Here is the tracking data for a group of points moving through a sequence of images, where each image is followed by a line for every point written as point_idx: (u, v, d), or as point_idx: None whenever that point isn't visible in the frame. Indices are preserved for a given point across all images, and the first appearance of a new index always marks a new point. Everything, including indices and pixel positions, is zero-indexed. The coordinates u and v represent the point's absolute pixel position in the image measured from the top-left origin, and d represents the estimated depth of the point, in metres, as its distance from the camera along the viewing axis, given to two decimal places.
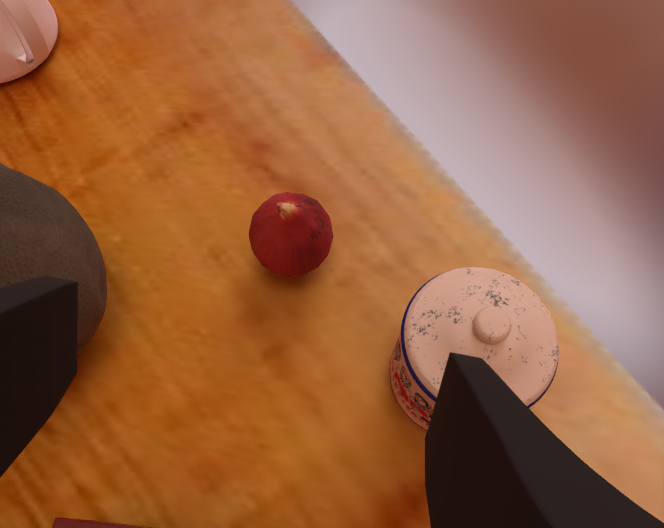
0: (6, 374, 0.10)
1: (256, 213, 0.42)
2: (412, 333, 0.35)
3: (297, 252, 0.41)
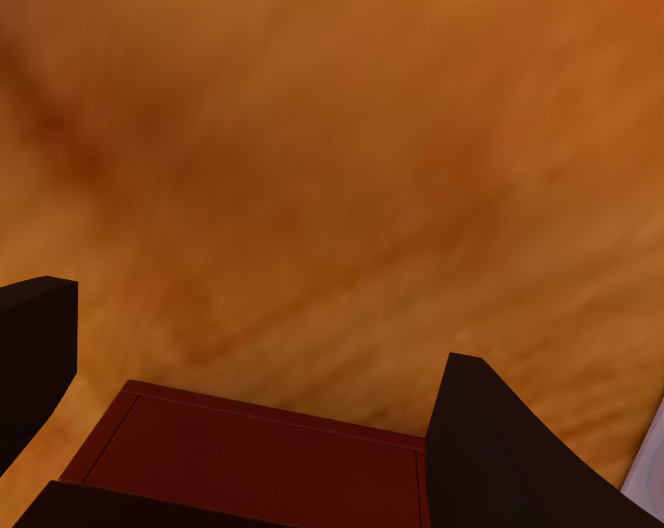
0: (7, 373, 0.10)
1: None
2: None
3: None
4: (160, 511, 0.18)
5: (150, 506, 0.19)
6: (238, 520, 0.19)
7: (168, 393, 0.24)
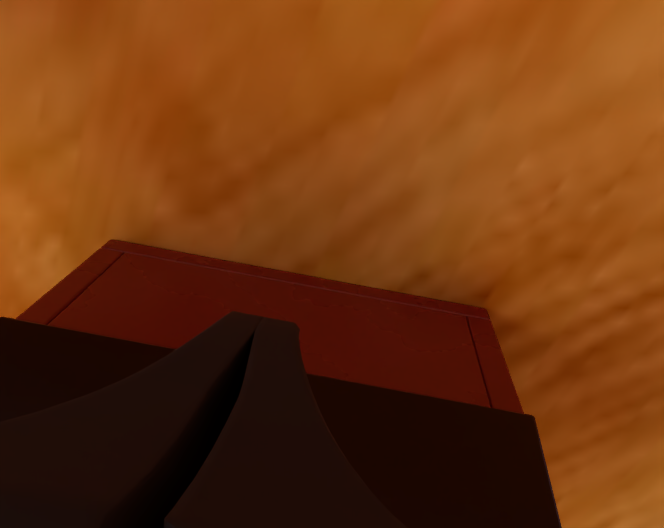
0: (226, 415, 0.10)
1: None
2: None
3: None
4: (144, 356, 0.14)
5: (132, 350, 0.14)
6: None
7: (160, 252, 0.20)
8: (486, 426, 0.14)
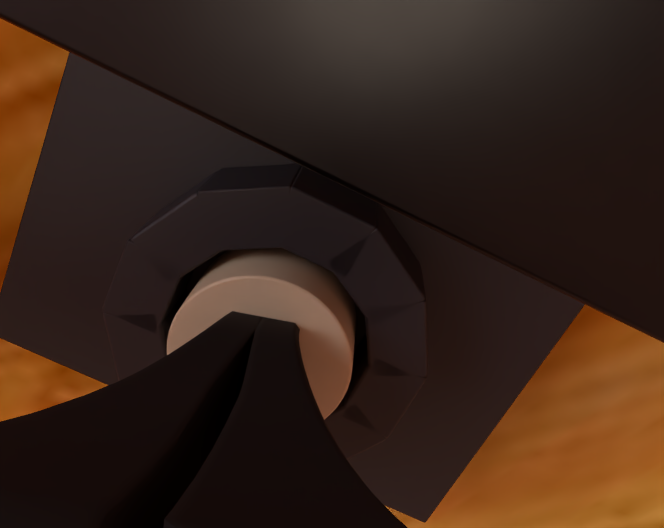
0: (226, 415, 0.10)
1: None
2: None
3: None
4: None
5: None
6: None
7: None
8: None
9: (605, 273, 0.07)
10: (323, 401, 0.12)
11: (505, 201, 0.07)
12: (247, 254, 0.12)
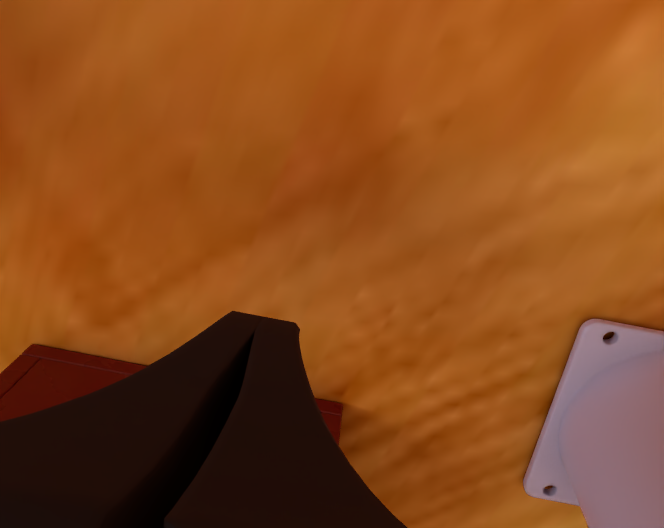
0: (226, 415, 0.10)
1: None
2: None
3: None
4: None
5: None
6: None
7: (72, 356, 0.24)
8: None
9: None
10: None
11: None
12: None
